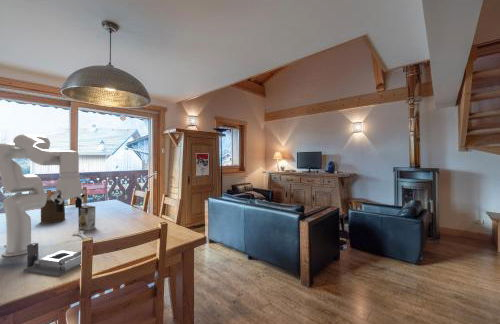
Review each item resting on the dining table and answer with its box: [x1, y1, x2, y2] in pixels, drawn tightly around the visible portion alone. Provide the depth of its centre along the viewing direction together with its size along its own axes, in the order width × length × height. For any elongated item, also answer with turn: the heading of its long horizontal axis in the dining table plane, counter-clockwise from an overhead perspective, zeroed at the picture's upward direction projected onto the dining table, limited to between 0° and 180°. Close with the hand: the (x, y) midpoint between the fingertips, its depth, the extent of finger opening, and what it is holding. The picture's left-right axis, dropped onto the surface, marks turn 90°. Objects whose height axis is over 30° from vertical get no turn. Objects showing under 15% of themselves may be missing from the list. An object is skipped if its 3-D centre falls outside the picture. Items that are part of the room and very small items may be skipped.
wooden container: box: [40, 193, 66, 224], centre depth 185 cm, size 15×15×22 cm
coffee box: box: [78, 205, 96, 231], centre depth 166 cm, size 9×6×16 cm
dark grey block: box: [26, 242, 40, 268], centre depth 110 cm, size 4×4×10 cm
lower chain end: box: [34, 257, 63, 270], centre depth 110 cm, size 15×11×3 cm
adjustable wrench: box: [72, 230, 88, 240], centre depth 148 cm, size 25×6×2 cm, turn 47°
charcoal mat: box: [22, 264, 81, 278], centre depth 110 cm, size 20×16×1 cm
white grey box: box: [39, 250, 82, 271], centre depth 109 cm, size 15×11×5 cm
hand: (69, 209), depth 113 cm, fingers open, 9 cm apart
